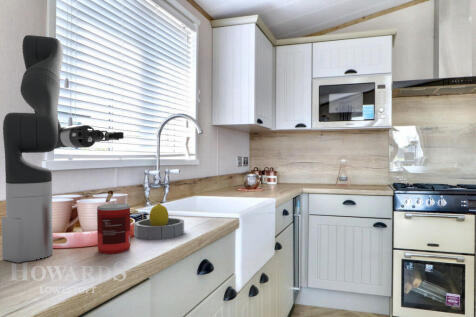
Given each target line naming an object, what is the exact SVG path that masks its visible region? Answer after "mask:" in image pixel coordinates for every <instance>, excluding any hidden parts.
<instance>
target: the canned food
mask: <svg viewBox="0 0 476 317" xmlns="http://www.w3.org/2000/svg"><path fill="white" fill-rule="evenodd" d="M96 222H97V223H96V224H97V226H96V227H97V230H96V233H97V234H96V235H97V250H98V252H99V253H100V254H103V253H106V255H114V253H116V254H122V253H125V252H128V251H129V250H130V248H131V205H130V204H129V203H106V204H99V205H97V208H96ZM121 252H122V253H121Z"/></svg>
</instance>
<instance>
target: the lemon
mask: <svg viewBox="0 0 476 317" xmlns="http://www.w3.org/2000/svg"><path fill="white" fill-rule="evenodd" d="M148 216H149V218H148V219H150V223H151V225H152V226H165V225H166V224H167V223H168V218H170V217H169V212H168V208H167V207H165V205H163V204H161V203H157V204H156V205H154V206H153V207H152V208H150V211H149V215H148Z"/></svg>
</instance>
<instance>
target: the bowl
mask: <svg viewBox="0 0 476 317" xmlns="http://www.w3.org/2000/svg"><path fill="white" fill-rule="evenodd" d="M133 225H134V226H133V227H134V229H133V231H134V234H133V236H134V237H136V238H137V239H143V240H167V239H173V238H177V237H180V236H181V237H182V236H183V235H184V233H185V220H184V219H181V218H177V217H169V218H168V223H167V224H166V225H165V226H152V225H151V223H150V219H149V218H145V219H142V220H138V221H136V222H134V223H133Z"/></svg>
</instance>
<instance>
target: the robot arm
mask: <svg viewBox="0 0 476 317" xmlns="http://www.w3.org/2000/svg"><path fill="white" fill-rule="evenodd" d="M21 46H22V57H23V61H24V66H25V72H23V75H22V78H21V84H20V94H21V97H22V98H23V100H24V101H25V102H26V104H27V105H29V107H30V108H32V109H33V111H34V112H35V113H34V112H9V113H7V114H6V115H5V116H4V118H3V123H2V135H3V136H2V138H3V146H4V147H3V148H4V150H3V151H4V166H5V216H3V217H1V238H2V239H1V241H2V242H1V245H2V246H1V248H2V250H1V252H2V257H1V258H2V260H5V261H8V262H12V263H16V264H17V263H23V262H31V261H37V260H41V259H40V258H42V259H45V258H47V256H48V257H50V256H52V255H53V254H52V253H54V242H53V241H54V240H53V238H54V236H53V182H52V181H53V179H52V178H53V176H52V175H53V173H52V171H51V169H49V168H45V167H42V166H39V165H35V164H33V163H31V162H30V161H27V160H26V159H25V158H24V156H23V154H24V153H25V154H41V153H45V154H46V153H50V152H53V151H54V150H55V149H59V148H60V149H61V148H71V149H72V148H73V149H79V148H80V149H82V148H83V149H84V148H90V147H91V148H92V146H94V144H95V143H100V142H109V141H119V140H123V139H124V137H125V136H124V135H125V134H124V132H123V131H108V130H101V129H94V127H92V126H91V125H89V124H81V125H78V124H77V125H70V126H64V127H63V126H61V123H60V119H59V118H58V115H59V114H58V110H59V108H58V107H59V99H60V93H61V92H60V91H61V69H62V67H63V66H62V65H63V61H64V48H63V44H62V42H61V41H60V40H59V39H58V38H55V37H51V36H45V35H44V36H42V35H32V34H27V35H24V37H23V40H22V44H21ZM51 254H52V255H51ZM44 257H45V258H44ZM36 259H37V260H36Z"/></svg>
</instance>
